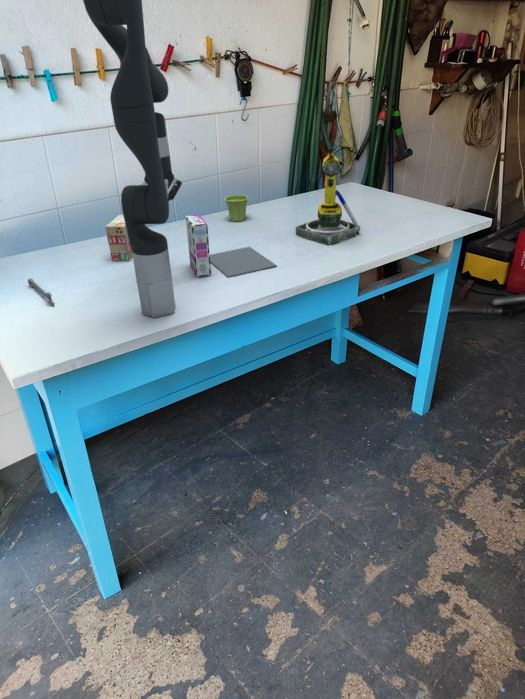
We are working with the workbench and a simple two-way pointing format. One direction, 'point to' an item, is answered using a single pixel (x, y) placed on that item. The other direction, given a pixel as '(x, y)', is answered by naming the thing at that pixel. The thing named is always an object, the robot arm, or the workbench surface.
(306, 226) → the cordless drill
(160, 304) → the robot arm
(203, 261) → the candy bar box
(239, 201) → the plant pot
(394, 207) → the workbench surface
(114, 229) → the stack of blocks
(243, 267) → the rubber mat
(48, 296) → the combination wrench
